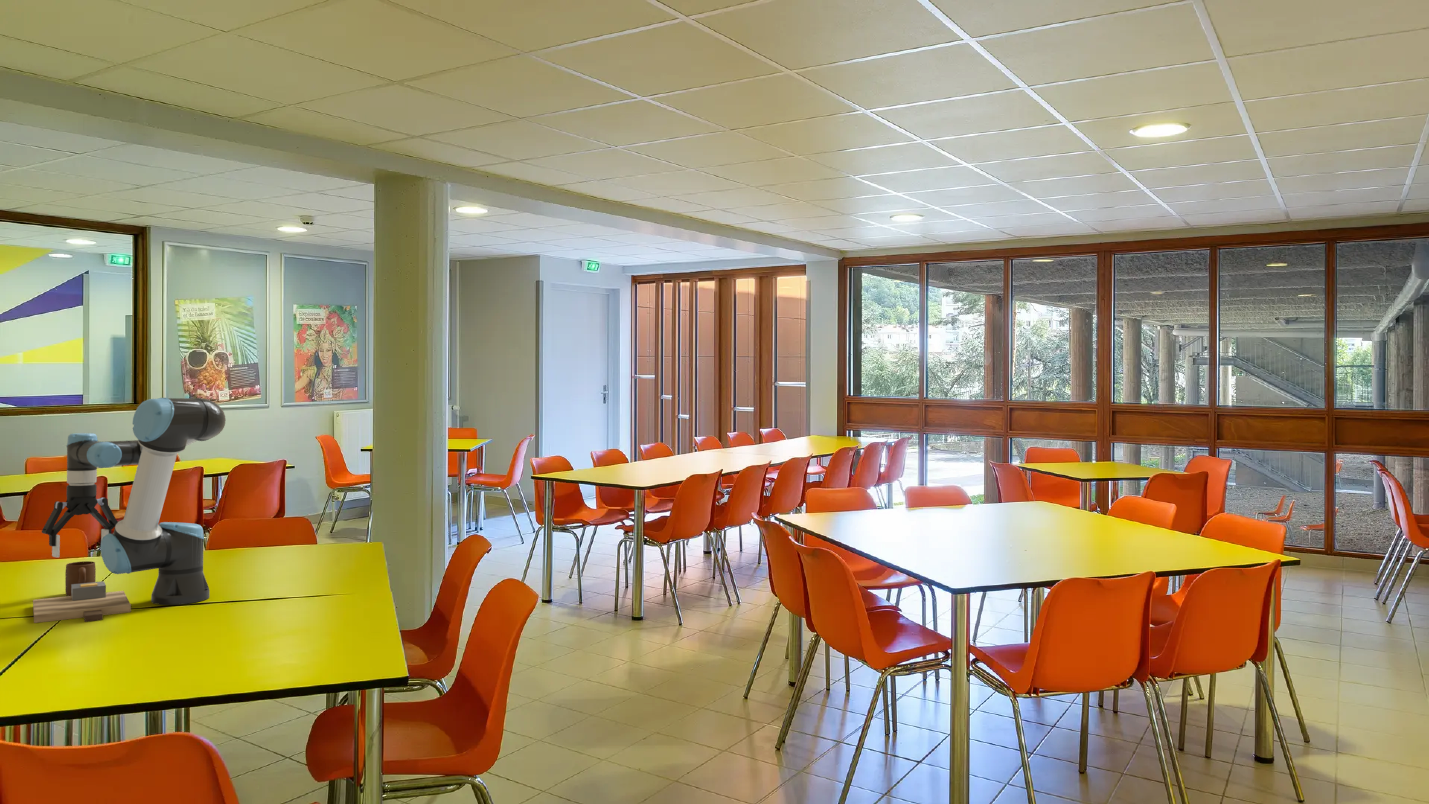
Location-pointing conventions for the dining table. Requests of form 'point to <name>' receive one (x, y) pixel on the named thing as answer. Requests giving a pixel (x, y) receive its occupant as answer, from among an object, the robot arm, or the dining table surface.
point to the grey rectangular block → (88, 590)
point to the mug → (79, 574)
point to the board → (80, 607)
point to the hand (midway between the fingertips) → (80, 553)
